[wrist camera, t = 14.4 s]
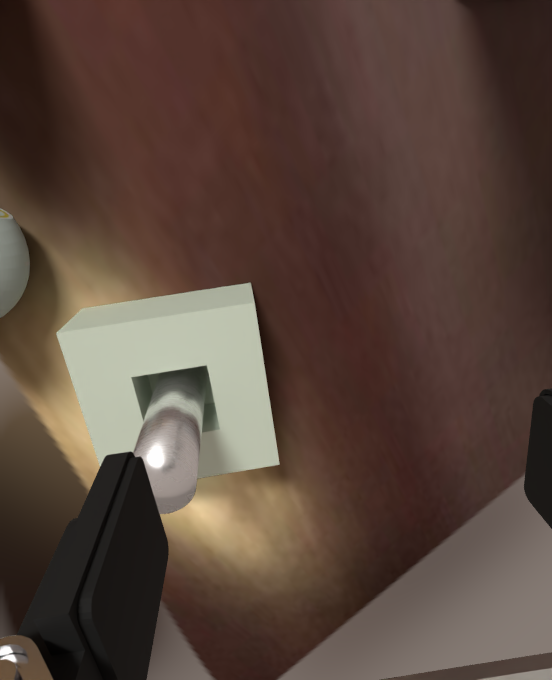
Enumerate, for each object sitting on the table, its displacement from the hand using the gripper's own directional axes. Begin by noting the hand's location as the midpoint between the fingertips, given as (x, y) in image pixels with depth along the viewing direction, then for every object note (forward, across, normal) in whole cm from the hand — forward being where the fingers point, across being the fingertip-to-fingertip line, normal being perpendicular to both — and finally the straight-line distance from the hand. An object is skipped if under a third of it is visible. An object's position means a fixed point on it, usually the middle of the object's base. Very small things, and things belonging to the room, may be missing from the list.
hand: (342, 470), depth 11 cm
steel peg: (+26, +9, +10) cm, 29 cm away
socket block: (+28, +9, +10) cm, 31 cm away
